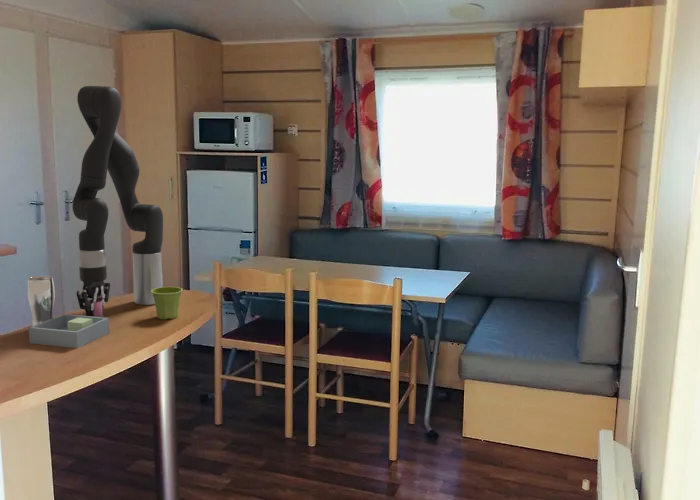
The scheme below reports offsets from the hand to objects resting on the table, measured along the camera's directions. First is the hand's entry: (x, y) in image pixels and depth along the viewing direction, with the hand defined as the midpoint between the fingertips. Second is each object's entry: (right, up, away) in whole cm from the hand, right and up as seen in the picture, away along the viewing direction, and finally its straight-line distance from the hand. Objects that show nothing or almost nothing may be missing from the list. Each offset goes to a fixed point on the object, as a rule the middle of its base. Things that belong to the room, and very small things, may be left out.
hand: (95, 319), depth 196 cm
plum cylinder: (0, -1, 0) cm, 1 cm away
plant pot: (+20, 0, +7) cm, 21 cm away
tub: (-1, -3, -16) cm, 16 cm away
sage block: (+3, -3, -17) cm, 18 cm away
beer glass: (-12, -2, -8) cm, 15 cm away
